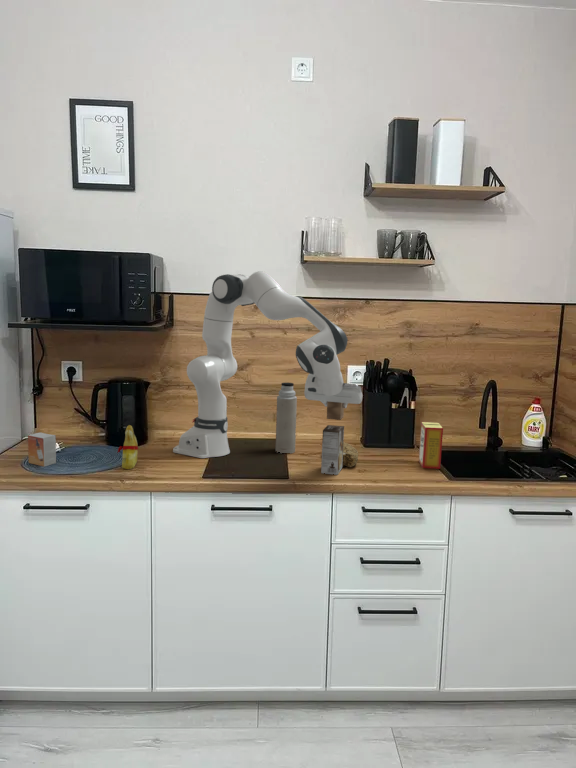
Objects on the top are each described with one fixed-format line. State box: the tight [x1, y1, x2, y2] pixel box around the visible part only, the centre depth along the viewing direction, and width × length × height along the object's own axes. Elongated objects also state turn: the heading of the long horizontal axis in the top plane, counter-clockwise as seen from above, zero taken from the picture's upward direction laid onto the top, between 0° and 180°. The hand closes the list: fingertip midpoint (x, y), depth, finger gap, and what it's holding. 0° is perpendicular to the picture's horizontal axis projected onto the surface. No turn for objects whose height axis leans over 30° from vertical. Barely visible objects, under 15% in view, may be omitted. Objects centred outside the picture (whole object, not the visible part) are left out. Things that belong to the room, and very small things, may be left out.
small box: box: [27, 432, 57, 467], centre depth 208 cm, size 8×6×10 cm
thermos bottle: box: [275, 382, 298, 454], centre depth 232 cm, size 8×8×28 cm
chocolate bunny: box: [116, 424, 139, 470], centre depth 208 cm, size 7×11×15 cm, turn 4°
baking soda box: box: [418, 421, 444, 470], centre depth 221 cm, size 10×6×16 cm
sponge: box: [342, 441, 359, 468], centre depth 224 cm, size 13×8×20 cm
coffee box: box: [320, 424, 345, 476], centre depth 209 cm, size 9×6×16 cm
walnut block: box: [326, 401, 345, 421], centre depth 207 cm, size 5×5×8 cm
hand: (336, 405), depth 208 cm, fingers closed on walnut block, 5 cm apart
